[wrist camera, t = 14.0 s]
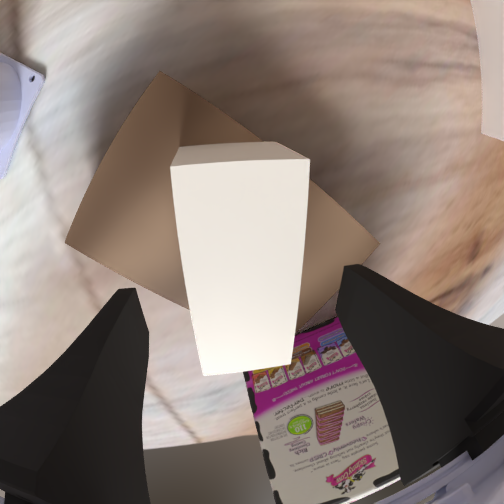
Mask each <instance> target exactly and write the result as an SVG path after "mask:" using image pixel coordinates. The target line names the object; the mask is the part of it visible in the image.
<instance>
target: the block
mask: <svg viewBox="0 0 504 504" xmlns="http://www.w3.org/2000/svg"><path fill="white" fill-rule="evenodd" d="M170 171H171V181H172V191H173V200H174V209H175V217H176V225H177V233H178V240H179V247H180V254H181V261H182V267H183V273H184V280H185V286H186V291H187V297H188V303H189V308H190V314H191V319H192V324H193V329H194V334H195V339H196V344H197V349H198V354H199V358H200V363H201V367H202V372H203V376H208V375H218V374H227V373H235V372H243V371H251V370H258V369H264V368H271V367H277V366H282V365H288V364H291V359H292V352H293V345H294V337H295V329H296V321H297V313H298V304H299V295H300V286H301V276H302V266H303V255H304V244H305V232H306V219H307V205H308V189H309V171H310V159H308V158H307V157H305V156H303V155H301V154H299V153H297V152H295V151H293V150H291V149H289V148H287V147H285V146H283V145H281V144H279V143H277V142H242V143H222V144H207V145H195V146H184V147H179V149H178V151H177V153H176V155H175V157H174V159H173V161H172V164H171V166H170Z"/></svg>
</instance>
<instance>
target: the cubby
mask: <svg viewBox="0 0 504 504" xmlns="http://www.w3.org/2000/svg"><path fill="white" fill-rule="evenodd" d="M242 142H264V141H262V140H261V139H260V138H258V137H257V136H256V135H254V134H253V133H252V132H250V131H249V130H248V129H246V128H245V127H244V126H242V125H241V124H239V123H238V122H237V121H235V120H234V119H233V118H231V117H230V116H228V115H227V114H225V113H224V112H223V111H221V110H220V109H218V108H217V107H215V106H214V105H213V104H211V103H210V102H208V101H207V100H205V99H204V98H202V97H201V96H199V95H198V94H196V93H195V92H193V91H191V90H190V89H188V88H187V87H185V86H184V85H182V84H181V83H179V82H177V81H176V80H174V79H173V78H171V77H169V76H168V75H166V74H164V73H163V72H161V71H159V73H158V74H157V75H156V77H155V78H154V79H153V81H152V82H151V83H150V85H149V86H148V87H147V89H146V90H145V92H144V93H143V94H142V96H141V97H140V99H139V100H138V102H137V103H136V105H135V106H134V108H133V109H132V111H131V112H130V114H129V115H128V117H127V118H126V120H125V122H124V123H123V125H122V126H121V128H120V130H119V131H118V133H117V135H116V136H115V138H114V140H113V142H112V143H111V145H110V147H109V149H108V150H107V152H106V154H105V156H104V158H103V159H102V161H101V163H100V165H99V167H98V169H97V171H96V173H95V175H94V177H93V179H92V181H91V183H90V185H89V187H88V189H87V191H86V193H85V195H84V197H83V200H82V202H81V204H80V206H79V208H78V211H77V213H76V215H75V218H74V220H73V223H72V225H71V227H70V230H69V232H68V235H67V238H66V240H65V243H66V244H68V245H69V246H71V247H73V248H74V249H76V250H78V251H79V252H81V253H83V254H84V255H86V256H88V257H90V258H91V259H93V260H95V261H97V262H98V263H100V264H102V265H104V266H105V267H107V268H109V269H111V270H113V271H114V272H116V273H118V274H120V275H122V276H124V277H125V278H127V279H129V280H131V281H133V282H135V283H137V284H139V285H140V286H142V287H144V288H146V289H148V290H150V291H152V292H154V293H156V294H158V295H160V296H162V297H164V298H166V299H168V300H170V301H172V302H174V303H176V304H178V305H180V306H182V307H185V308H187V309H189V310H190V308H189V303H188V297H187V291H186V286H185V280H184V273H183V267H182V261H181V254H180V247H179V240H178V233H177V225H176V217H175V209H174V200H173V191H172V181H171V171H170V166H171V164H172V161H173V159H174V157H175V155H176V153H177V151H178V149H179V147H184V146H195V145H207V144H222V143H242ZM379 244H380V243H379V242H378V241H377V240H376V239H375V238H374V237H373V236H372V235H371V234H370V233H369V232H368V231H367V230H366V229H365V228H364V227H363V226H362V225H361V224H360V223H359V222H358V221H356V220H355V219H354V218H353V217H352V216H351V215H350V214H349V213H348V212H347V211H346V210H345V209H344V208H342V207H341V206H340V205H339V204H338V203H337V202H336V201H335V200H334V199H332V198H331V197H330V196H329V195H328V194H327V193H326V192H325V191H323V190H322V189H321V188H320V187H319V186H318V185H316V184H315V183H314V182H313V181H312V180H311V179H309V189H308V205H307V219H306V232H305V244H304V255H303V266H302V276H301V286H300V295H299V304H298V313H297V321H296V329H295V333H296V332H297V331H298V330H299V329H300V328H301V327H302V326H303V325H304V324H305V323H306V322H307V321H308V320H309V319H310V318H311V317H312V316H313V315H314V314H315V313H316V312H317V311H318V310H319V309H320V308H321V307H322V306H323V305H324V304H325V303H326V302H327V301H328V300H329V299H330V298H331V297H332V296H333V295H334V294H335V293H336V292H337V291H338V290H339V289H340V284H341V279H342V274H343V268H344V266H346V265H354V264H360V265H362V264H363V263H364V261H365V260H366V259H367V258H368V257H369V256H370V255H371V254H372V252H373V251H374V250H375V249H376V248H377V247H378V245H379Z"/></svg>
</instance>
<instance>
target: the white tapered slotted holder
mask: <svg viewBox="0 0 504 504" xmlns="http://www.w3.org/2000/svg"><path fill="white" fill-rule="evenodd" d="M470 1H471V5H472V10H473V14H474V20H475V25H476V31H477V38H478V45H479V54H480V65H481V80H482V127H481V134H484V135H487V136H490V137H493V138H496V139H499V140H502V141H504V0H470Z"/></svg>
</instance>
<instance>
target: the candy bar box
mask: <svg viewBox="0 0 504 504" xmlns="http://www.w3.org/2000/svg"><path fill="white" fill-rule="evenodd" d="M243 374H244V378H245V382H246V387H247V391H248V396H249V400H250V404H251V408H252V412H253V417H254V421H255V424H256V429H257V432H258V437H259V441H260V445H261V449H262V453H263V457H264V461H265V465H266V469H267V473H268V476H269V480H270V483H271V487H272V490H273V494H274V499H275V502H276V504H349V503H351V502H354V501H356V500H358V499H361V498H363V497H365V496H367V495H370V494H372V493H374V492H376V491H378V490H380V489H382V488H385V487H386V486H388V485H391V484H392V483H394V482H396V481H398V480H400V479H401V478H400V475H399V468H398V462H397V457H396V452H395V447H394V444H393V440H392V436H391V432H390V429H389V425H388V422H387V419H386V416H385V413H384V410H383V407H382V405H381V402H380V400H379V397H378V395H377V392H376V390H375V387H374V385H373V383H372V381H371V379H370V377H369V375H368V373H367V372H366V370H365V368H364V366H363V364H362V363H361V361H360V359H359V357H358V356H357V354H356V352H355V350H354V349H353V347H352V345H351V343H350V342H349V340H348V338H347V336H346V334H345V333H344V330H343V328H342V326H341V323H340V321H339V318H338V317H336V318H334V319H331V320H329V321H327V322H325V323H323V324H320V325H318V326H316V327H314V328H311V329H309V330H307V331H304V332H302V333H300V334H297V335H295V337H294V345H293V352H292V359H291V364H288V365H282V366H277V367H271V368H264V369H258V370H251V371H243Z"/></svg>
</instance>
